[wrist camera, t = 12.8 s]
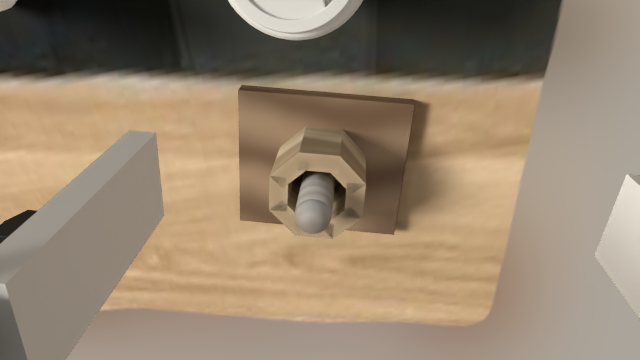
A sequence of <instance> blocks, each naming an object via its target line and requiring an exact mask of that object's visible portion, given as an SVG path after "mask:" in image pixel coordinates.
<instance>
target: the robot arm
mask: <svg viewBox="0 0 640 360" xmlns="http://www.w3.org/2000/svg"><path fill="white" fill-rule="evenodd" d="M163 216H164V209H163V199H162V189H161V179H160V169H159V159H158V149H157V138H156V133H153V132H142V131H130V130H129V131H128V132H127V133H126V134H125V135H124V136H123V137H121V138H120V139H119V140H118V141H117V142H116V143H115V144H113V145H112V146H111V147H110V148H109V149H108V150H107V151H105V152H104V153H103V154H102V155H101V156H100V157H99V158H97V159H96V160H95V161H94V162H93V163H92V164H91V165H89V166H88V167H87V168H86V169H85V170H84V171H83V172H82V173H80V174H79V175H78V176H77V177H76V178H75V179H74V180H72V181H71V182H70V183H69V184H68V185H67V186H66V187H64V188H63V189H62V190H61V191H60V192H59V193H58V194H56V195H55V196H54V197H53V198H52V199H51V200H50V201H48V202H47V203H46V204H45V205H44V206H43V207H42V208H41V209H39V210H38V211H33V210H27V211H25V212H23V213H21V214H19V215H16V216H14V217H12V218H10V219H8V220H6V221H4V222H3V223H2V224H1V225H0V360H66V359H67V357H68V356H69V354H70V353H71V351H72V350H73V349H74V347H75V346H76V344H77V343H78V341H79V340H80V338H81V337H82V335H83V334H84V332H85V331H86V329H87V328H88V326H89V325H90V324H91V322H92V321H93V319H94V318H95V316H96V315H97V313H98V312H99V310H100V309H101V307H102V306H103V304H104V303H105V302H106V300H107V299H108V297H109V296H110V294H111V293H112V291H113V290H114V288H115V287H116V285H117V284H118V282H119V281H120V280H121V278H122V277H123V275H124V274H125V272H126V271H127V269H128V268H129V266H130V265H131V263H132V262H133V260H134V259H135V258H136V256H137V255H138V253H139V252H140V250H141V249H142V247H143V246H144V244H145V243H146V241H147V240H148V238H149V237H150V236H151V234H152V233H153V231H154V230H155V228H156V227H157V225H158V224H159V222H160V221H161V219H162V218H163ZM595 257H596V259H597V260H598V261H599V263H600V264H601V266H602V267H603V268H604V270H605V271H606V273H607V274H608V275H609V277H610V278H611V279H612V281H613V282H614V284H615V285H616V286H617V288H618V289H619V291H620V292H621V294H622V295H623V296H624V298H625V299H626V301H627V302H628V303H629V305H630V306H631V308H632V309H633V310H634V312H635V313H636V315H637V316H638V317H639V319H640V175H632V174H627V175H626V177H625V180H624V183H623V185H622V188H621V190H620V193H619V195H618V198H617V200H616V203H615V205H614V208H613V210H612V213H611V215H610V218H609V221H608V223H607V225H606V228H605V230H604V233H603V235H602V238H601V240H600V243H599V245H598V248H597V251H596V253H595Z"/></svg>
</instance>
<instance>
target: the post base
mask: <svg viewBox="0 0 640 360" xmlns="http://www.w3.org/2000/svg"><path fill="white" fill-rule="evenodd" d="M238 100H239V168H240V220H243V221H253V222H264V223H275V224H283V223H282V222H281V221H280V220H279V219H278V218H277V217H276V216H275V215H274V214H273V213H272V212H271V211H270V210H269V180H270V173H271V170H272V168H273V165H274V162H275V160H276V157H277V154H278V151H279V149H280V147H281V146H282V145H284V144H285V143H286V142H287V141H289V140H290V139H291V138H292V137H293V136H295V135H296V134H297V133H298V132H300V131H301V130H302V129H303V128H304V127H306V126H310V127H321V128H333V129H343V131H344V132H345V133H346V134H347V135H348V136H349V137H350V138H351V139H352V141H353V142H354V143H355V144H356V145H357V146H358V147H359V148H360V150H361V151H362V152H363V153H364V154H365V158H366V189H365V198H364V206H363V214H362V219H361V220H359V221H358V222H356V223H355V224H353V225H352V226H350V227H349V228H348V229H346V230H350V231H360V232H371V233H382V234H393V235H394V231H395V225H396V218H397V212H398V206H399V200H400V193H401V187H402V181H403V175H404V168H405V162H406V156H407V150H408V143H409V137H410V131H411V125H412V118H413V112H414V106H415V104H414V101H413V100H412V99H400V98H388V97H376V96H364V95H352V94H340V93H328V92H316V91H304V90H292V89H280V88H268V87H256V86H244V85H242V86H241V87H240V88H239V90H238ZM298 178H299V179H300V180H301V181H302V182H301V187H300V191H299V196H298V200H297V204H296V209H295V214H294V217H295V221H296V224H297V226H298V227H299V228H300V229H301V230H302V231H304V232H306V233H309V234H317V233H320V232H322V231H324V230H325V229H326V228H327V227H328V226H329V224H330V222H331V217H332V208H333V197H334V188H335V187H336V186H337V185H339V184H340V182H339V181H338V180H337V179H336V178H335V177H334V176H333V175H332V174H331V173H329V172H317V171H305V172H303V173H302V174H301V175H299V176H298Z"/></svg>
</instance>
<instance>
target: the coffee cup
mask: <svg viewBox="0 0 640 360" xmlns="http://www.w3.org/2000/svg"><path fill="white" fill-rule="evenodd" d="M228 1H229V3H230V4H231V6H232V7H233V8H234V9H235V11H236V12H237V13H238V14H239V15H240V16H241V17H242V18H243V19H244V20H245V21H246V22H248V23H249V24H250V25H252V26H253V27H255V28H256V29H258V30H260V31H262V32H264V33H266V34H268V35H271V36H274V37H277V38H281V39H286V40H307V39H313V38H316V37H320V36H323V35H325V34H327V33H329V32H331V31H333V30H335V29H337V28H338V27H340V26H341V25H342V24H344V23H345V22H346V21H347V20H348V19H349V18H350V17H351V16H352V15H353V14H354V13H355V12H356V10H357V9H358V8H359V6H360V5H361V3H362V2H363V0H228Z"/></svg>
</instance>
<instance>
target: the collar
mask: <svg viewBox="0 0 640 360" xmlns="http://www.w3.org/2000/svg"><path fill="white" fill-rule="evenodd" d="M305 171H317V172H329V173H331V174H332V175H333V176H334V177H335V178H336V179H337V180H338V181H339V182H340V184H339V185H337V186H336V187H335V188H334V197H333V208H332V217H331V222H330V224H329V226H328V227H327V228H326V229H325V230H324V231H322V232H320V233H317V234H309V233H306V232H304V231H302V230H301V229H300V228H299V227H298V226H297V224H296V221H295V217H294V214H295V209H296V204H297V200H298V196H299V191H300V187H301V182H302V181H301V180H300V179H299V178H298V176H299V175H301V174H302V173H303V172H305ZM365 189H366V158H365V154H364V153H363V152H362V151H361V150H360V148H359V147H358V146H357V145H356V144H355V143H354V142H353V141H352V139H351V138H350V137H349V136H348V135H347V134H346V133H345V132H344V131H343V129H333V128H321V127H310V126H306V127H304V128H303V129H302V130H301V131H300V132H298V133H297V134H296V135H295V136H293V137H292V138H291V139H290V140H289V141H287V142H286V143H285V144H284V145H282V146H281V147H280V149H279V151H278V154H277V157H276V160H275V162H274V165H273V168H272V170H271V173H270V180H269V210H270V211H271V212H272V213H273V214H274V215H275V216H276V217H277V218H278V219H279V220H280V221H281V222H282V223H283V224H284V225H285V226H286V227H287V228H288V229H289V230H290V231H291V232H292V233H293V234H294V235H298V236H308V237H319V238H330V239H333V238H334V237H336V236H337V235H339V234H340V233H342V232H343V231H345V230H346V229H348V228H349V227H350V226H352V225H353V224H355V223H356V222H358V221H359V220H361V219H362V214H363V206H364V198H365Z"/></svg>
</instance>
